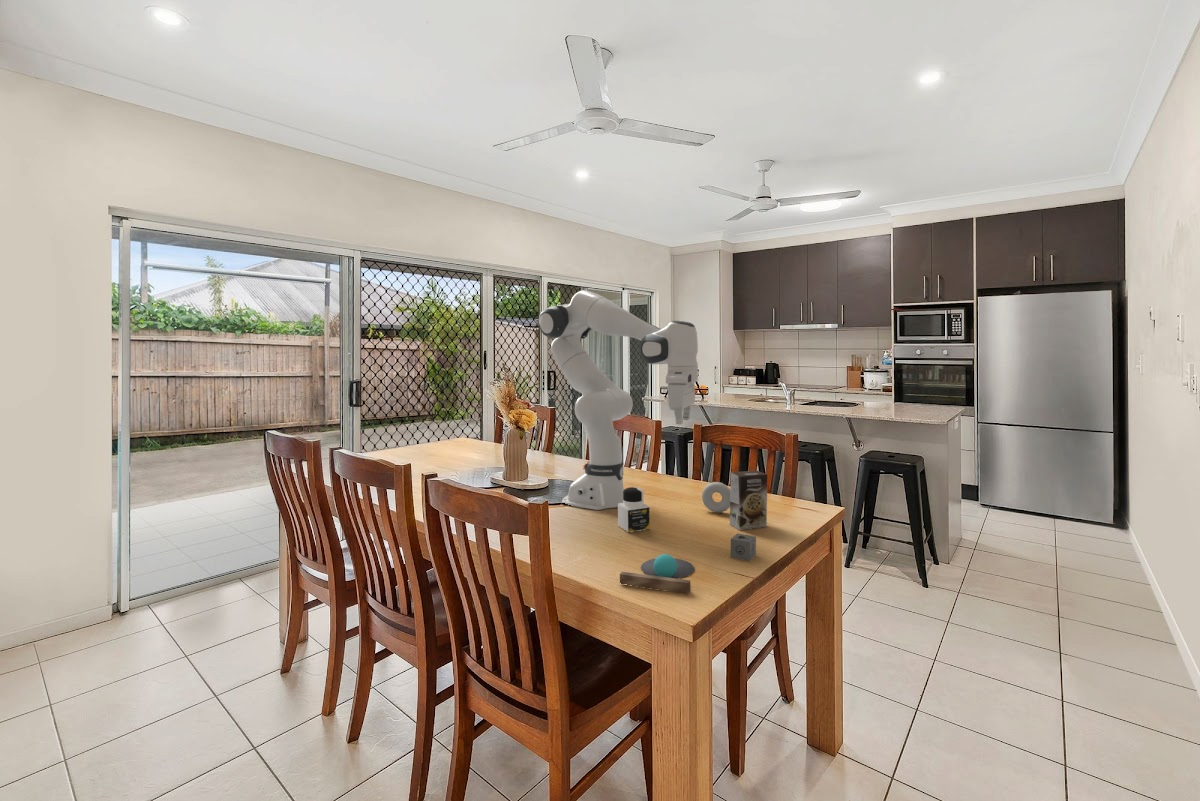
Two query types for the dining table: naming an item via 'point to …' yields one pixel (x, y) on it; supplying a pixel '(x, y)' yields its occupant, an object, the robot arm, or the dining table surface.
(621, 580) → the stopper strip
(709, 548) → the dining table surface
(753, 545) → the gray cube
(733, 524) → the cookie box
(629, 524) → the medicine bottle
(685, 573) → the disc
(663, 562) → the ball
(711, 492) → the donut
